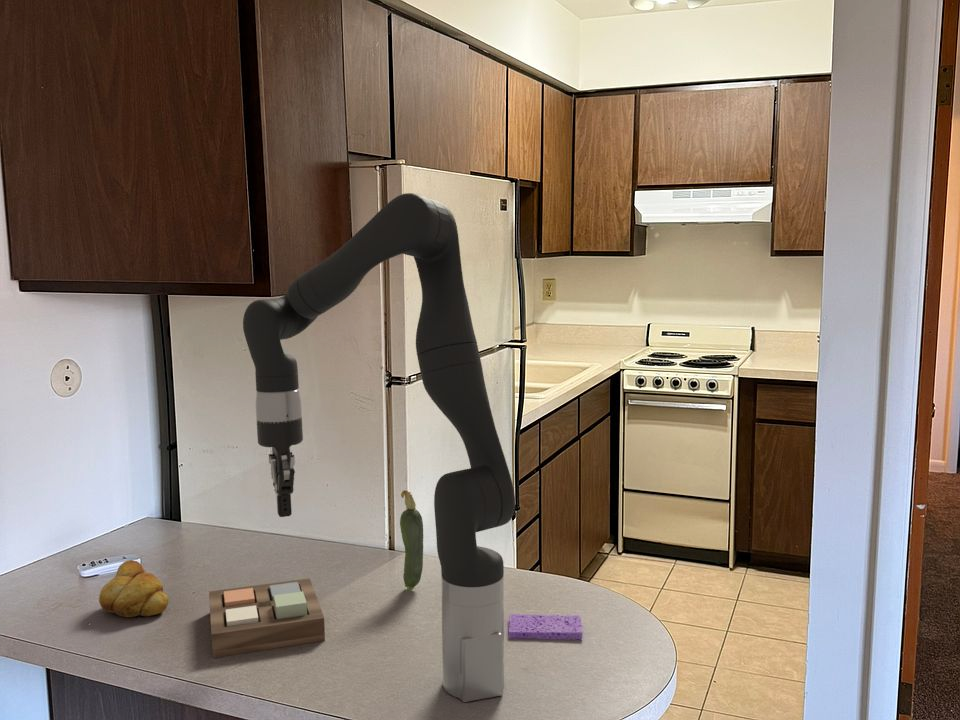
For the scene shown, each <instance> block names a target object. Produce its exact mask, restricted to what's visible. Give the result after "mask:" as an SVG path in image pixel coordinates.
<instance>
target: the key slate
mask: <svg viewBox="0 0 960 720" xmlns="http://www.w3.org/2000/svg"><path fill="white" fill-rule="evenodd" d="M295 592H301V590H300V587H299V584H298V582H293V583H285V584H277V585H270V601H273V600H274V595H280V594H287V593H295Z"/></svg>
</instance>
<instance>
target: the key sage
mask: <svg viewBox="0 0 960 720" xmlns="http://www.w3.org/2000/svg"><path fill="white" fill-rule="evenodd" d="M274 613H275V617H276V619H283V618H290V617H297V616H304V615H307V602H306V599H305V596H304V593H303V591H302V592H295V593H287V594H280V595H274Z"/></svg>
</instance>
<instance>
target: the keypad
mask: <svg viewBox="0 0 960 720" xmlns="http://www.w3.org/2000/svg"><path fill="white" fill-rule="evenodd" d="M293 582H298V584H299V587H300V590H301V592H302V591H303V593H304V596H305V599H306V602H307V615H304V616H297V617H290V618H283V619H276V617H275V613H274V600H273V601H270V585H277V584H285V583H293ZM247 588H253V592H254V597H255V603H251V604H244V605H236V606H229V607H225V605H224V591H232V590H239V589H247ZM208 598H209V601H208V602H209V617H210V632H211V633H210V634H211V649H212V652H211V654H212V658H213V659H214V658H220V657H228V656H233V655H235V656H236V655H240V654H241V655H242V654H246V653H253V652H258V651H259V652H260V651H267V650H271V649H278V648H279V649H280V648H287V647H292V646H297V645H304V644H312V643H318V642H325V641H326V633H325V631H326V630H325V616H324V614H323V611H322V609H321V605H320V603H319V600H318V597H317V594H316V592H315V589H314V586H313V583H312V581H311V578H303V579H302V578H301V579H293V580H287V581H281V582H280V581H279V582H272V583H271V582H270V583H264V584H256V585H250V586H249V585H247V586H241V587H234V588H226V589H219V590H211V591H208ZM255 605H256V608H257V613H258V622H255V623H248V624H241V625H234V626H227V627H226V609H234V608H241V607H248V606H255Z"/></svg>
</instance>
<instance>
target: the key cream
mask: <svg viewBox="0 0 960 720" xmlns="http://www.w3.org/2000/svg"><path fill="white" fill-rule="evenodd" d="M255 622H258V613H257V608H256V605H255V606H248V607H241V608H234V609H226V627H227V626H234V625H241V624H248V623H255Z"/></svg>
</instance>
